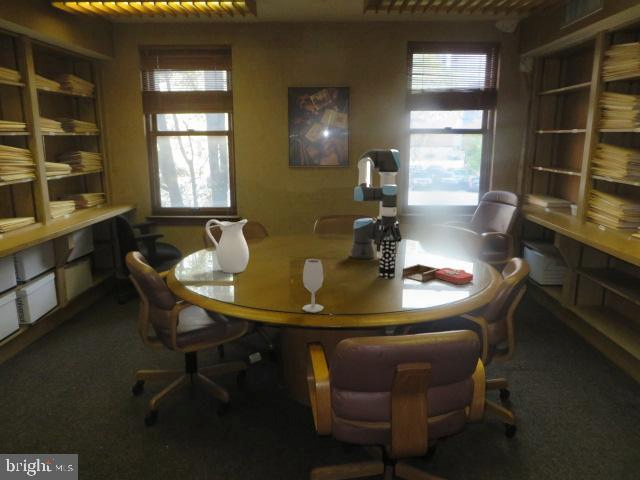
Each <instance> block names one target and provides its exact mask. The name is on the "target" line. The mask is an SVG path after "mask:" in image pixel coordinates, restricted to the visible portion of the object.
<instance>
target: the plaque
mask: <svg viewBox="0 0 640 480" xmlns="http://www.w3.org/2000/svg"><path fill="white" fill-rule="evenodd" d="M439 269H440V270H438V271H435V277H436V278H435V279H440V280H444V281H447V282H451V283H454V284H456V285H457V284H458V285H461V284H465V283H469V282H472V281H474V274H472V273H470V272H466V270H464V269H455V268H451V267H441V268H439Z"/></svg>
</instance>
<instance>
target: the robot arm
mask: <svg viewBox="0 0 640 480" xmlns="http://www.w3.org/2000/svg"><path fill="white" fill-rule="evenodd" d="M357 161H358V162H357V169H358V186H354V192H353V198H354V199H353V200H354V201H356V202H357V201H358V202H379V215H378V216H377V217H376V220H374V219H373V218H372V217H364V218H359V219H356V220H354V221H353V238H352V239H353V244H352V247H351V249H350V252H349V253H350V254H349V255H350V256H349V257H350V258H353V259H359V260H369V259H373V258H375V256H376V258H382V245H381V244H382V242H383V240H384V238H385V237H391V238H396V255H399V245H400V242H401V241H402V240H403V238H402V234H401V230H400V224H399V221H397V216H396V215H397V210H398V209H397V207H398V205H397V204H398V192H399V191H398V185H397V184H396V175H397V174H398V173H399V171H400V170H401V157H400V152H399V150H397V149H392V148H391V149H369V150H367V151H366V152H364V153H362V155H361V156H360V157H359V159H358V160H357ZM373 170H378V171H377V172H378V174H379V176H380V184H379V185H380V186H373ZM373 244H374V245H376V252H375V249H374V245H373Z"/></svg>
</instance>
